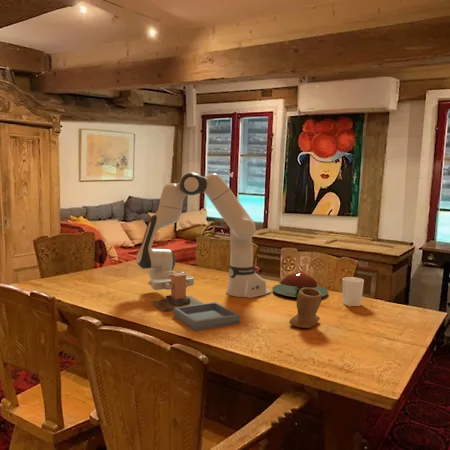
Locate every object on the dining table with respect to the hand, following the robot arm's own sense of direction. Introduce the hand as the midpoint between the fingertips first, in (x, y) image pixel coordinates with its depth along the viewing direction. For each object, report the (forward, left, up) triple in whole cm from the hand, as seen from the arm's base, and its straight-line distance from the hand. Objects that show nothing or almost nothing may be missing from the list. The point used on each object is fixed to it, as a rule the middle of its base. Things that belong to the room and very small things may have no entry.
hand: (179, 286), depth 210 cm
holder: (0, -1, -9) cm, 9 cm away
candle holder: (-74, +33, -9) cm, 81 cm away
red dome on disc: (-64, +7, -9) cm, 65 cm away
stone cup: (-36, +46, -9) cm, 59 cm away
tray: (-2, +23, -9) cm, 25 cm away
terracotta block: (0, -1, -7) cm, 7 cm away
